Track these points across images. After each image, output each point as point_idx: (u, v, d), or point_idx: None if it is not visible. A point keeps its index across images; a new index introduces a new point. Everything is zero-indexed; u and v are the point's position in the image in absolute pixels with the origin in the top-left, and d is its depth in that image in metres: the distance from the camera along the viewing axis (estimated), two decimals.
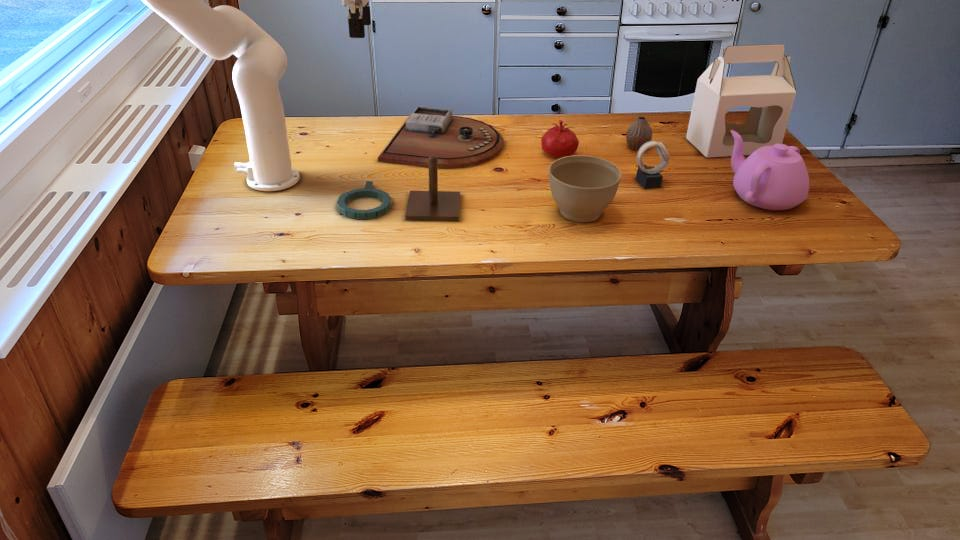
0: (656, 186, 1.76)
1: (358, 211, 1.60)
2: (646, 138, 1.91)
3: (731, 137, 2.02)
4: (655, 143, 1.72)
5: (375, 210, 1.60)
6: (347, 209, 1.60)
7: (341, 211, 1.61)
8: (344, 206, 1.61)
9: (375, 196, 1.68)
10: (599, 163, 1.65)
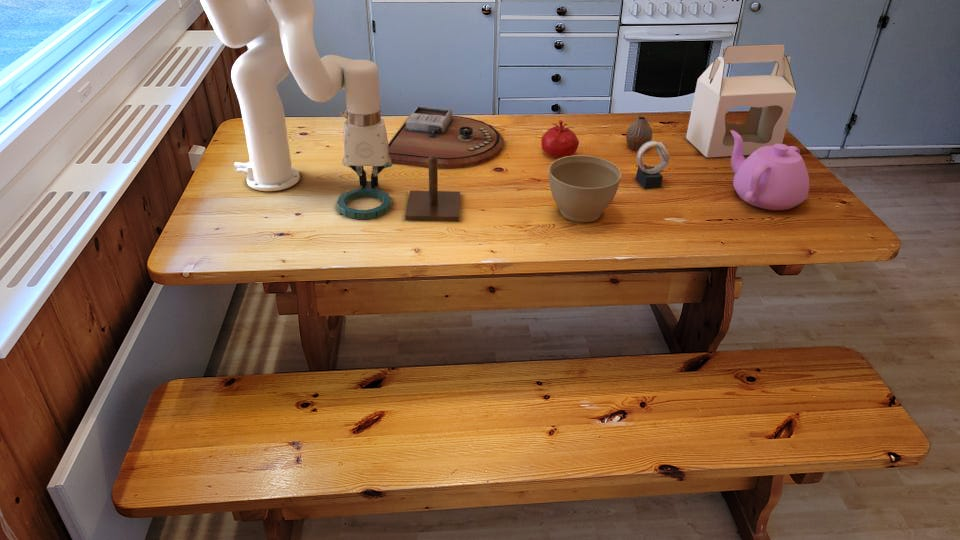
0: (656, 186, 1.76)
1: (358, 211, 1.60)
2: (646, 138, 1.91)
3: (731, 137, 2.02)
4: (655, 143, 1.72)
5: (375, 210, 1.60)
6: (347, 209, 1.60)
7: (341, 211, 1.61)
8: (344, 206, 1.61)
9: (375, 196, 1.68)
10: (599, 163, 1.65)
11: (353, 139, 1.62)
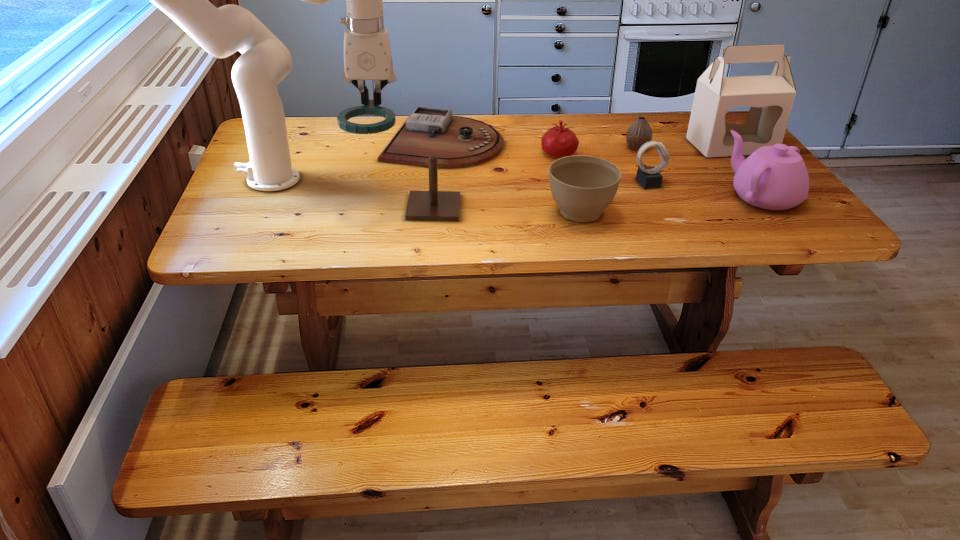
0: (656, 186, 1.76)
1: (360, 125, 1.48)
2: (646, 138, 1.91)
3: (731, 137, 2.02)
4: (655, 143, 1.72)
5: (378, 124, 1.49)
6: (348, 123, 1.49)
7: (341, 126, 1.50)
8: (345, 121, 1.50)
9: (378, 114, 1.57)
10: (599, 163, 1.65)
11: (354, 49, 1.50)
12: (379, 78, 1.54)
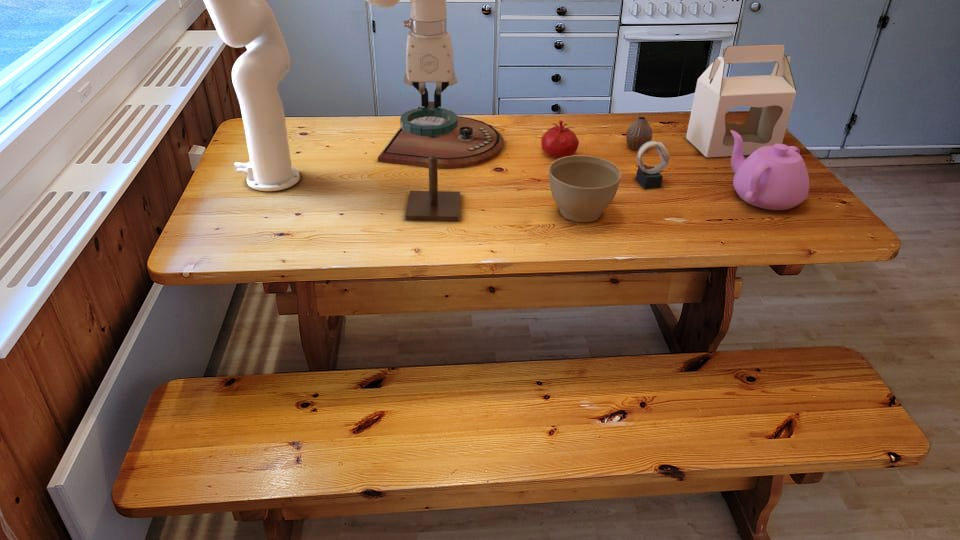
0: (656, 186, 1.76)
1: (424, 127, 1.48)
2: (646, 138, 1.91)
3: (731, 137, 2.02)
4: (655, 143, 1.72)
5: (442, 126, 1.49)
6: (412, 126, 1.49)
7: (405, 128, 1.50)
8: (408, 123, 1.50)
9: (439, 115, 1.57)
10: (599, 163, 1.65)
11: (417, 51, 1.50)
12: (441, 80, 1.54)
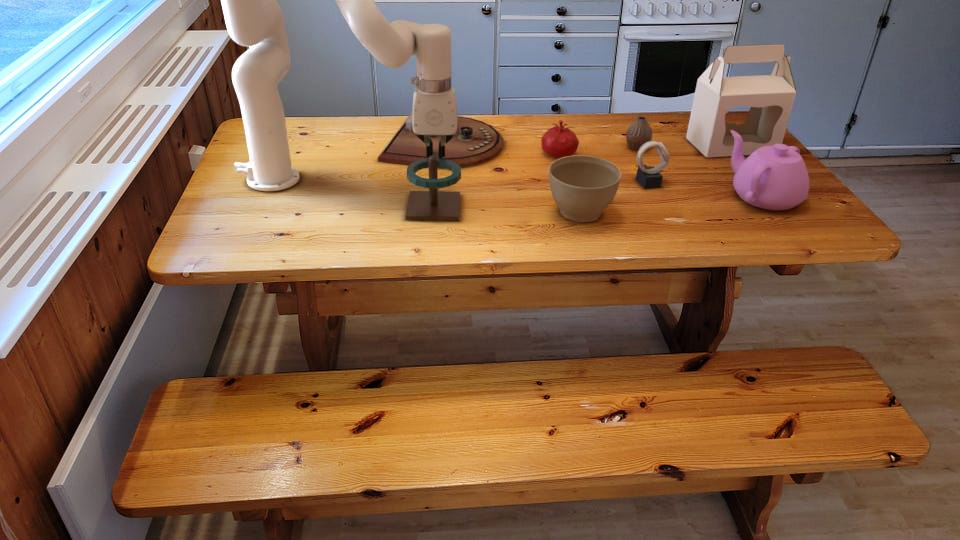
0: (656, 186, 1.76)
1: (429, 180, 1.55)
2: (646, 138, 1.91)
3: (731, 137, 2.02)
4: (655, 143, 1.72)
5: (447, 179, 1.56)
6: (418, 178, 1.56)
7: (411, 181, 1.57)
8: (414, 175, 1.57)
9: (443, 166, 1.64)
10: (599, 163, 1.65)
11: (423, 107, 1.57)
12: (445, 133, 1.61)
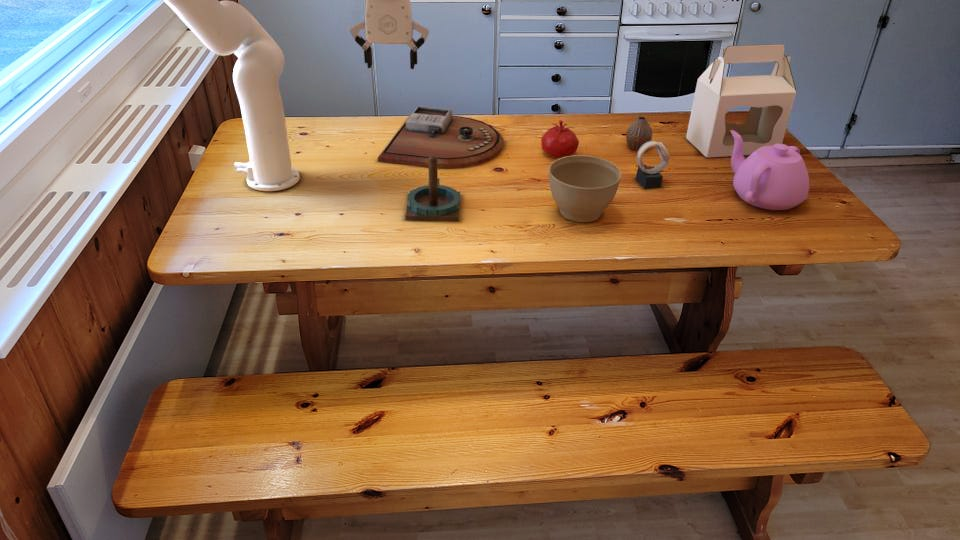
0: (656, 186, 1.76)
1: (430, 208, 1.59)
2: (646, 138, 1.91)
3: (731, 137, 2.02)
4: (655, 143, 1.72)
5: (446, 207, 1.60)
6: (418, 206, 1.60)
7: (412, 208, 1.61)
8: (415, 203, 1.61)
9: (443, 193, 1.68)
10: (599, 163, 1.65)
11: (376, 12, 1.51)
12: (400, 42, 1.55)
